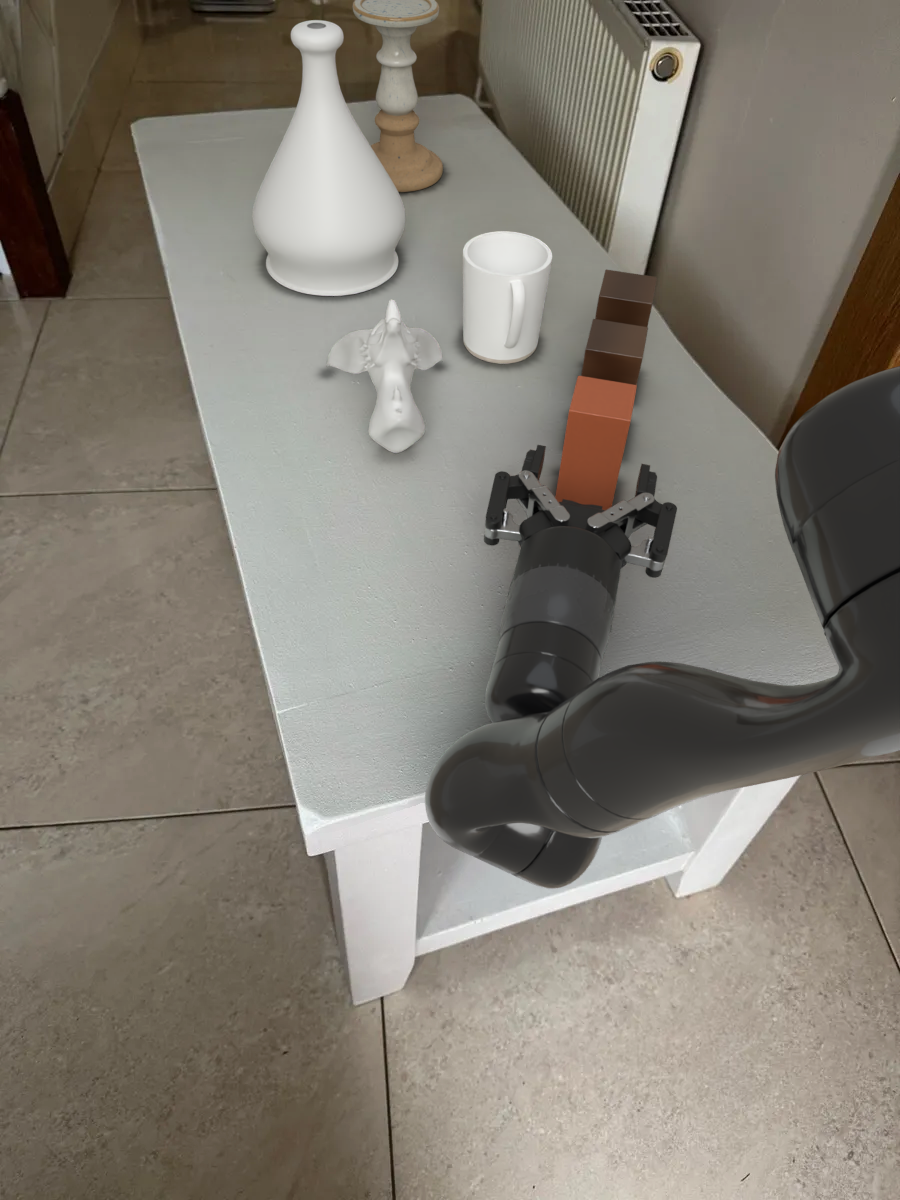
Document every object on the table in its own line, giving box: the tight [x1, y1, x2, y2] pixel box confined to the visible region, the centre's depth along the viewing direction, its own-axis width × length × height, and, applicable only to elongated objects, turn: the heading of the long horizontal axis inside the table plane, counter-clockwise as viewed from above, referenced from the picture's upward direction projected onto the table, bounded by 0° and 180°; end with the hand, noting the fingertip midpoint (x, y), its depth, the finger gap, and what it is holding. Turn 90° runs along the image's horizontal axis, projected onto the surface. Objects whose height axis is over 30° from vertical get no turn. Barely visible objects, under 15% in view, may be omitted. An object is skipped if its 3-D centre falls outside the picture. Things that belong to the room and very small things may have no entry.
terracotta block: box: [554, 375, 638, 510], centre depth 80 cm, size 5×5×11 cm
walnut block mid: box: [580, 318, 649, 386], centre depth 86 cm, size 5×5×11 cm
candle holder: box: [352, 0, 444, 193], centre depth 119 cm, size 12×12×20 cm
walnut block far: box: [594, 269, 658, 328], centre depth 92 cm, size 5×5×11 cm
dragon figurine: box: [326, 299, 444, 454], centre depth 86 cm, size 12×18×13 cm
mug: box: [462, 230, 553, 365], centre depth 96 cm, size 11×9×10 cm
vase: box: [251, 19, 407, 297], centre depth 101 cm, size 17×17×25 cm
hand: (591, 462), depth 76 cm, fingers open, 8 cm apart
